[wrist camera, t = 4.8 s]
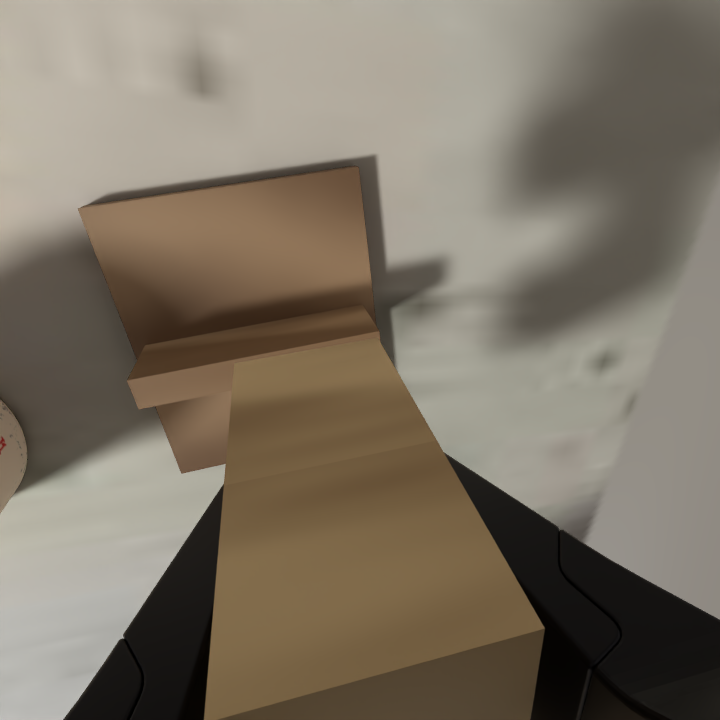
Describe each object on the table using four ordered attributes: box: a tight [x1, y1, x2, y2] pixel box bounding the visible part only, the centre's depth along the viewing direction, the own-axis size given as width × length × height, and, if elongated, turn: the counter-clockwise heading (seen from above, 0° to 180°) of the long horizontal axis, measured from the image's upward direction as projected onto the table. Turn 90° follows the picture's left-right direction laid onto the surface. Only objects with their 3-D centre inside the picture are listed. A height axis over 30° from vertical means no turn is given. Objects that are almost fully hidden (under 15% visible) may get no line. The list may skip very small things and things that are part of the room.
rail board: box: [78, 166, 381, 474], centre depth 18 cm, size 12×10×4 cm
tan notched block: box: [204, 338, 545, 720], centre depth 9 cm, size 10×3×6 cm, turn 6°
